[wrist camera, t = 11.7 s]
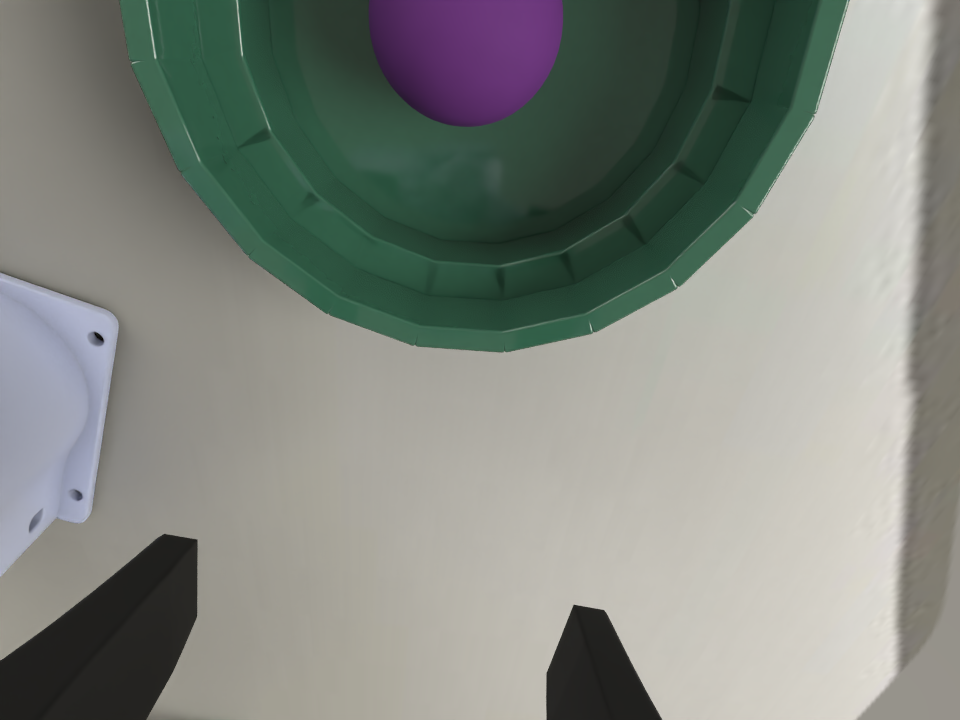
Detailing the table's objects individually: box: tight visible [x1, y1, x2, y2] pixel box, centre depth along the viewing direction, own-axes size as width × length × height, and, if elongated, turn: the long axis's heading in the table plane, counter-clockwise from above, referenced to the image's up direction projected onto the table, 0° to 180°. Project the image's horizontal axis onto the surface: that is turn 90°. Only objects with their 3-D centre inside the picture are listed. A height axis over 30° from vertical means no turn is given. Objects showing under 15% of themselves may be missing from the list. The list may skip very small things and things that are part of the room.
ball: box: [369, 0, 563, 127], centre depth 14 cm, size 4×4×4 cm
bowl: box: [119, 0, 850, 352], centre depth 14 cm, size 14×14×5 cm
